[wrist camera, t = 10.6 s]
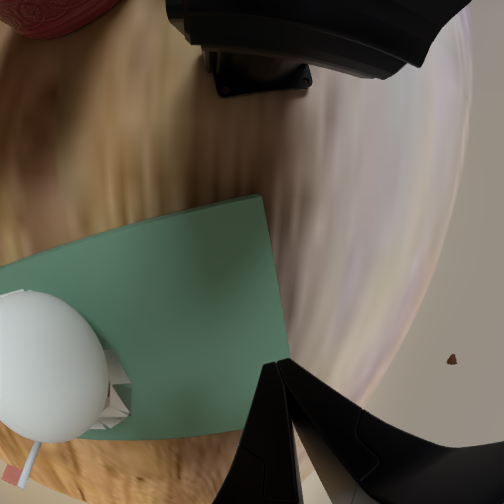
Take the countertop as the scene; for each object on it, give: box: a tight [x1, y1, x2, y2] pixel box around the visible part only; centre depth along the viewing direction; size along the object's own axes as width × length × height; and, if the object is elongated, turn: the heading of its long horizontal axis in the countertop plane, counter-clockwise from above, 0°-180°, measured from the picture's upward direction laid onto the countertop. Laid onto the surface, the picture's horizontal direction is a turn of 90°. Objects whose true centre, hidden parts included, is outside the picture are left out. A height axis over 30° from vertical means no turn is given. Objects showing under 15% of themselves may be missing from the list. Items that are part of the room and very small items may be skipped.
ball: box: [0, 291, 109, 443], centre depth 12 cm, size 10×10×10 cm
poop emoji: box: [447, 354, 457, 365], centre depth 168 cm, size 10×8×9 cm
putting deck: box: [0, 194, 291, 490], centre depth 15 cm, size 32×20×12 cm, turn 101°
